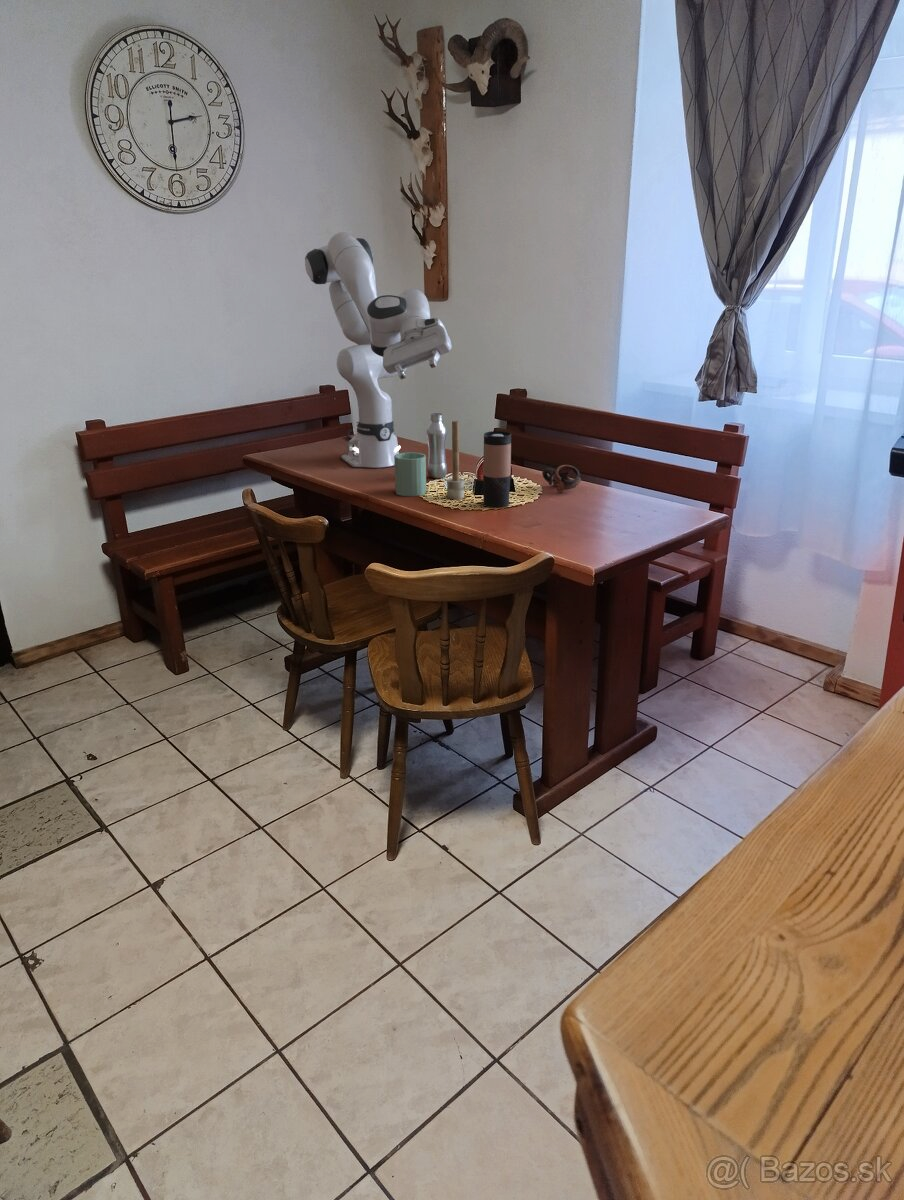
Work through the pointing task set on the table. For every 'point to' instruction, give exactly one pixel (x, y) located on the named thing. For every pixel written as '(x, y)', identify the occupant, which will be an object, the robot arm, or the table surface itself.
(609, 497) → the table surface
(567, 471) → the dark looped ring
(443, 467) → the silver metal bottle
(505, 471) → the travel mug
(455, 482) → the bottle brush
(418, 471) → the cup
